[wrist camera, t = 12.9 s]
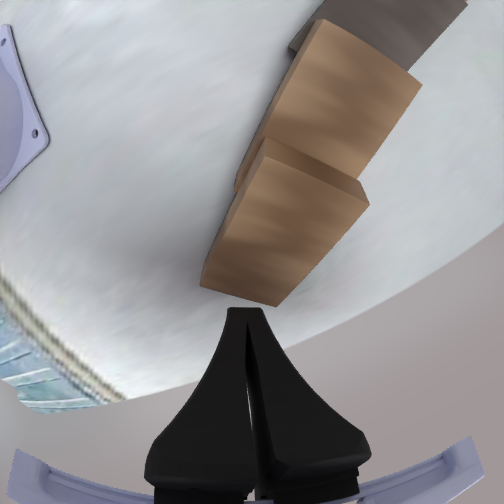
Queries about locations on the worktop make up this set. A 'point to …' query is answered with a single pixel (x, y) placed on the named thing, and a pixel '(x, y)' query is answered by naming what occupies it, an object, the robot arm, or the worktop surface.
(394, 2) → the ebony domino
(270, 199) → the domino
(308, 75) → the domino
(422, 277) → the worktop surface
